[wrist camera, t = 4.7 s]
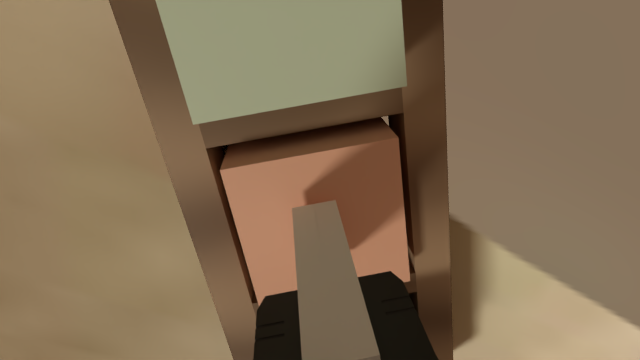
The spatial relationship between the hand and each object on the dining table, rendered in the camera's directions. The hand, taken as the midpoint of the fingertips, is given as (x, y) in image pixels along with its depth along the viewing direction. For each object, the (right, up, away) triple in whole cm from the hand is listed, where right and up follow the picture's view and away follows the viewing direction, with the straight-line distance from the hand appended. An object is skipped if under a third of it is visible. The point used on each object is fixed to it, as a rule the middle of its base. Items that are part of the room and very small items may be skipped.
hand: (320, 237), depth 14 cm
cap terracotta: (0, +1, +3) cm, 4 cm away
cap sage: (-1, +8, -1) cm, 8 cm away
